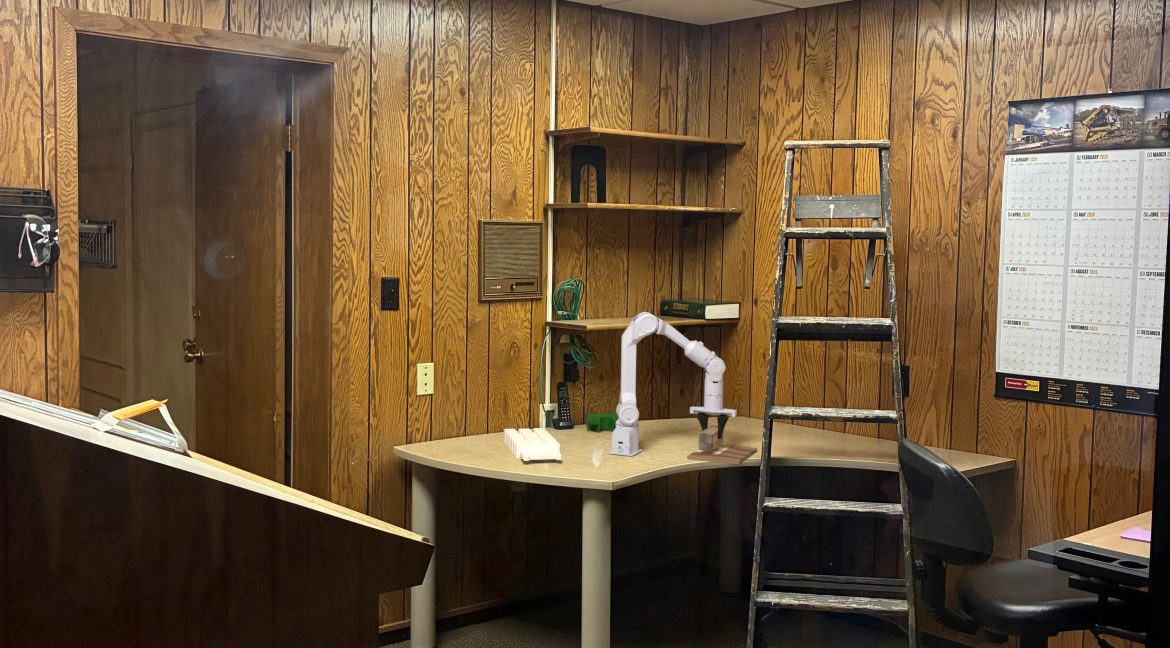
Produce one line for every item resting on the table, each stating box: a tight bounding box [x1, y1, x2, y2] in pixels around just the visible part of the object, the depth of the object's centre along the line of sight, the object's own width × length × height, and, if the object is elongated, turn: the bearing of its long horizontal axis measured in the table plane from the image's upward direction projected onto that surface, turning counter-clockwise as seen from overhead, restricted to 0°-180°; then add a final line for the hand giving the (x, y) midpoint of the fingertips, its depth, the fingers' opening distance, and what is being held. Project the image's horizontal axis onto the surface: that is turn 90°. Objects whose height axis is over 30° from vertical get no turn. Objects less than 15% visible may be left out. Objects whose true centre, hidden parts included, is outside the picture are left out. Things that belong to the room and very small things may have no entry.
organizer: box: [503, 427, 563, 462], centre depth 315 cm, size 13×5×35 cm
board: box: [686, 444, 758, 465], centre depth 316 cm, size 22×16×1 cm
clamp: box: [585, 412, 619, 434], centre depth 354 cm, size 12×6×9 cm, turn 98°
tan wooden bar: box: [698, 424, 725, 451], centre depth 318 cm, size 4×14×5 cm, turn 156°
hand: (712, 437), depth 319 cm, fingers closed on tan wooden bar, 4 cm apart
